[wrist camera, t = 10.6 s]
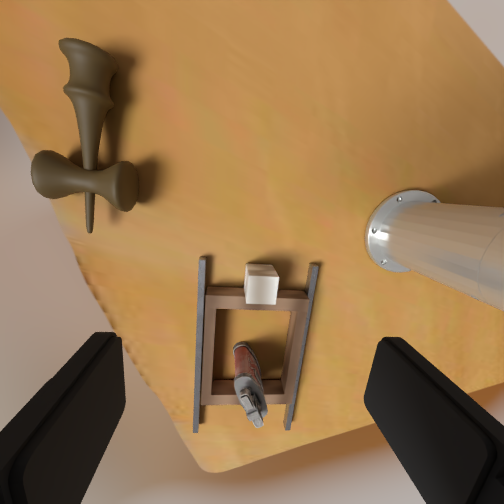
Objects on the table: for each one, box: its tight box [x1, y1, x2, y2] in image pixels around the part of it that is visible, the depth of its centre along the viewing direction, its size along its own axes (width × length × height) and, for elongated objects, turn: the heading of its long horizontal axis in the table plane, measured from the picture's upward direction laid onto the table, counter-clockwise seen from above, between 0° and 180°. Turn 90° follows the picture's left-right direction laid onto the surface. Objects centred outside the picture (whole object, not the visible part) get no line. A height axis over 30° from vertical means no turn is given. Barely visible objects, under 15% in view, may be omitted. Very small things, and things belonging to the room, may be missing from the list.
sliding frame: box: [201, 263, 310, 405], centre depth 36 cm, size 15×23×5 cm, turn 175°
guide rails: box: [193, 257, 319, 433], centre depth 38 cm, size 18×32×2 cm, turn 175°
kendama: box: [31, 38, 139, 233], centre depth 27 cm, size 6×10×20 cm
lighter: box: [233, 342, 268, 428], centre depth 35 cm, size 8×3×10 cm, turn 22°
